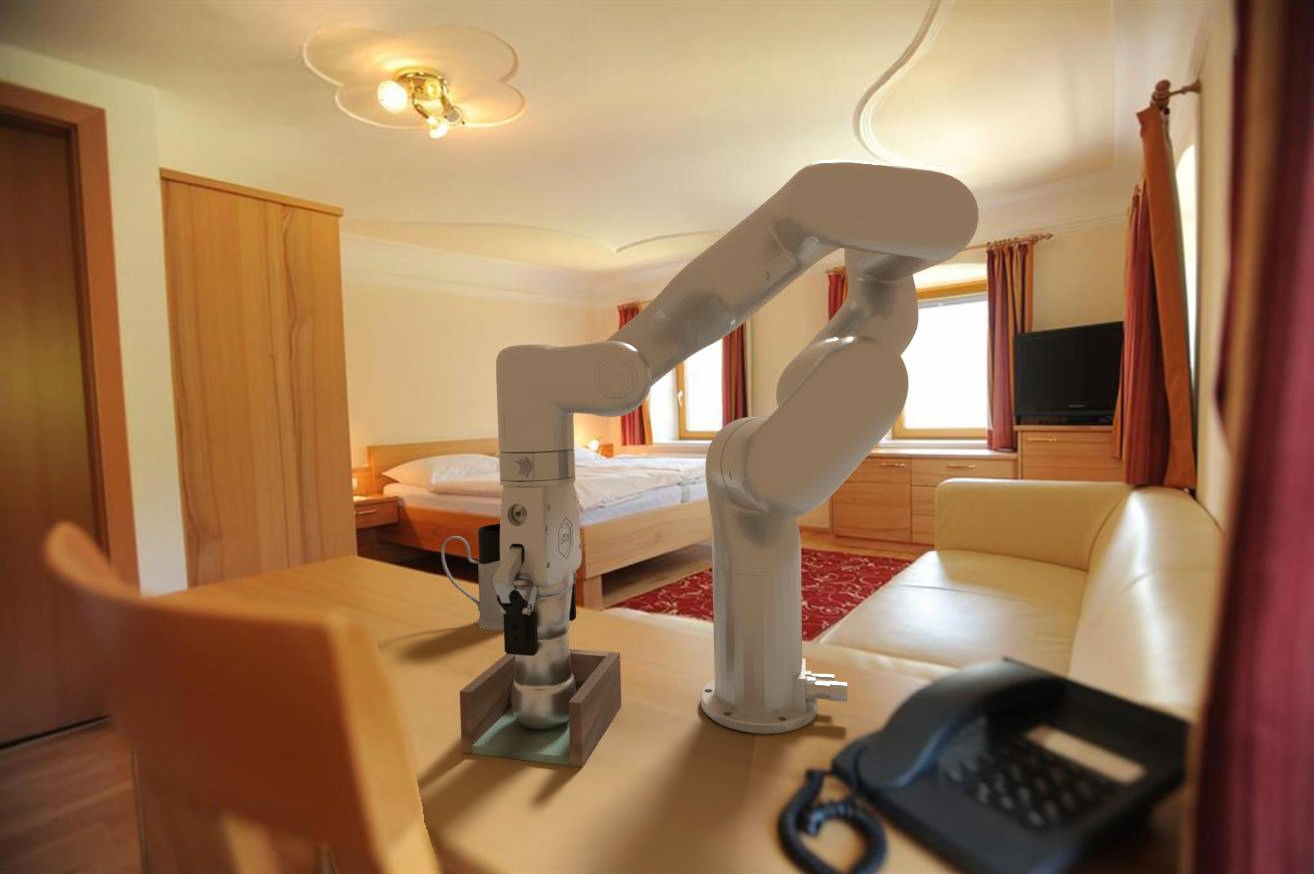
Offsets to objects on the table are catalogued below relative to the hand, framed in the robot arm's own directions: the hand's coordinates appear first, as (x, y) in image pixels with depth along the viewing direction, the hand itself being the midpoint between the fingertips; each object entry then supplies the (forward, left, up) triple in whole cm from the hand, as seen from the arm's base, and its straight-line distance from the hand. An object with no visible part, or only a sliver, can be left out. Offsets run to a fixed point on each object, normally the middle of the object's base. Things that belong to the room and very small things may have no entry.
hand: (543, 635), depth 62 cm
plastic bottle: (0, 0, -9) cm, 9 cm away
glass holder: (+23, -29, -10) cm, 39 cm away
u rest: (0, 0, -10) cm, 10 cm away
